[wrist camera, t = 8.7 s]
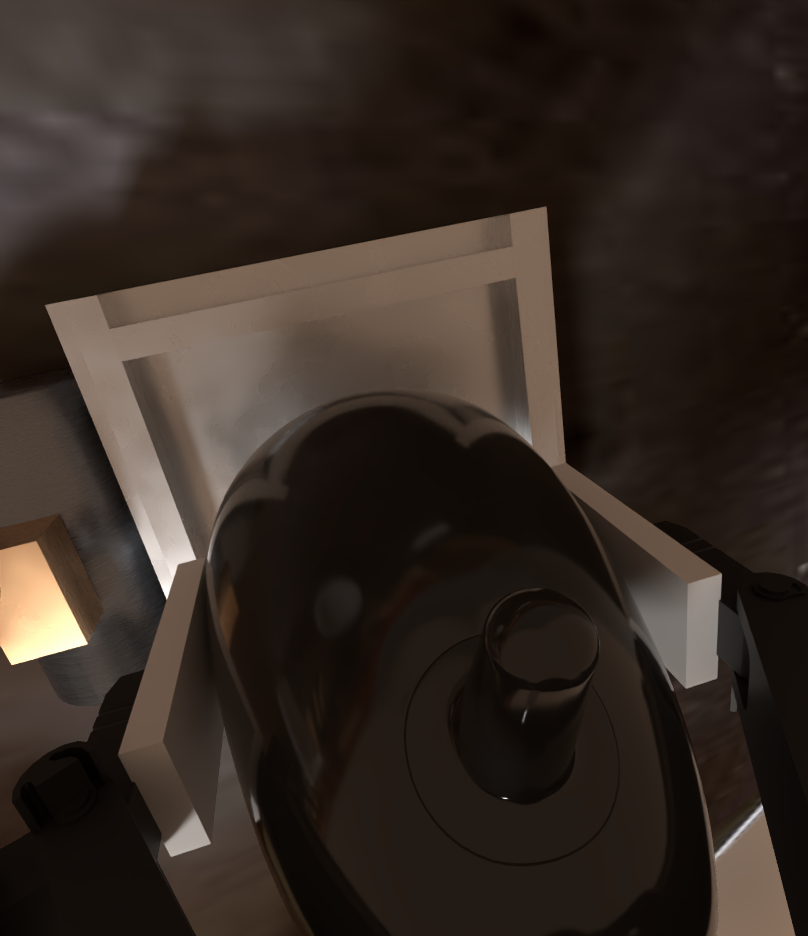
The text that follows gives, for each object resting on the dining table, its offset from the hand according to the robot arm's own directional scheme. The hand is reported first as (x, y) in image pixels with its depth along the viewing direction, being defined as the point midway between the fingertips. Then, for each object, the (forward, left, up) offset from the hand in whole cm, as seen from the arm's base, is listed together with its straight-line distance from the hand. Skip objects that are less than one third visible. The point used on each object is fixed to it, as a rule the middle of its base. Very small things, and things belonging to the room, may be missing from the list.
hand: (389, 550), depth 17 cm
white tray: (0, +3, -11) cm, 11 cm away
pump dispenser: (0, 0, -3) cm, 3 cm away
